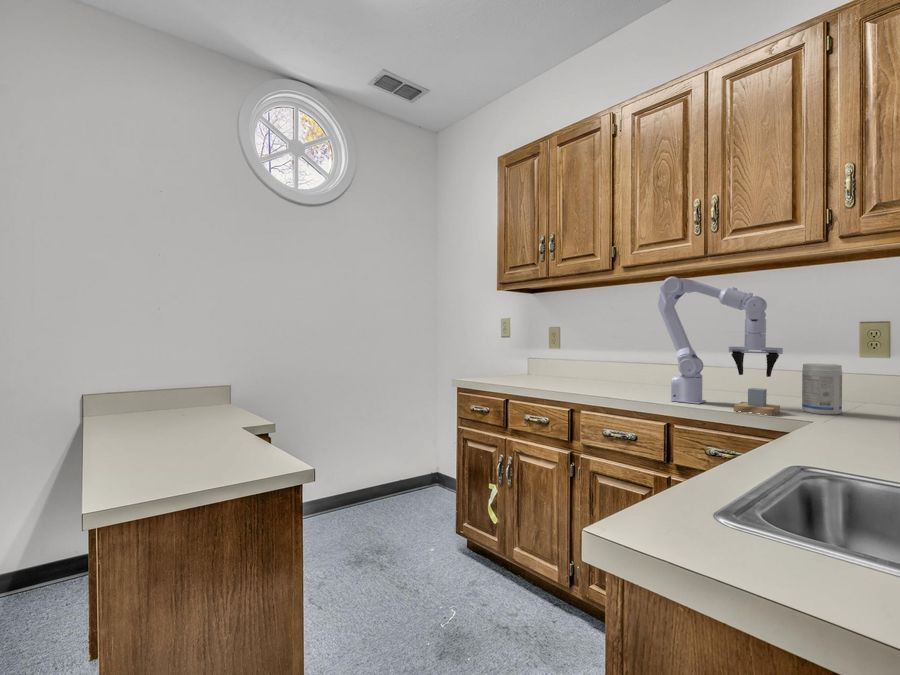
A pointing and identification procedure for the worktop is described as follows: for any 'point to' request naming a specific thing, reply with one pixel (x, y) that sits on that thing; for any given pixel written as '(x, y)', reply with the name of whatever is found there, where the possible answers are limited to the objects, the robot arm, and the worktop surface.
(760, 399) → the block
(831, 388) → the supplement tub
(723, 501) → the worktop surface
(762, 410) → the slab
